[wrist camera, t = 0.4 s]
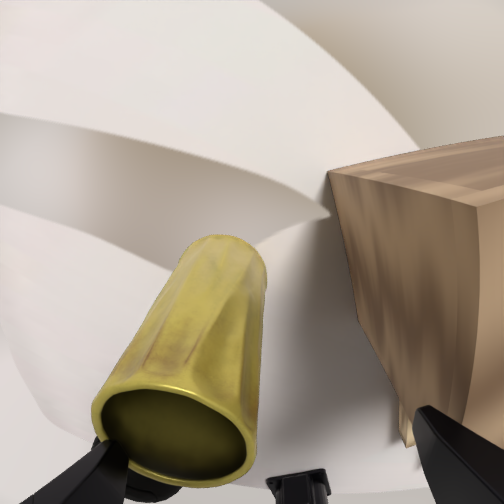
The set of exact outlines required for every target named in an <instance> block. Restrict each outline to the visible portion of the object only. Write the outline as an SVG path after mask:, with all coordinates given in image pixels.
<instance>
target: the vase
mask: <svg viewBox="0 0 504 504" xmlns="http://www.w3.org/2000/svg"><path fill="white" fill-rule="evenodd" d="M266 288H267V273H266V267H265V264H264V262H263V260H262V258H261V256H260V255H259V253H258V252H257V251H256V250H255V248H253V247H252V246H251V245H250V244H248V243H247V242H245V241H243V240H242V239H240V238H237V237H234V236H230V235H209V236H206V237H203V238H201V239H199V240H197V241H195V242H193V243H192V244H191V245H190V246H189V247H188V248H187V249H186V250H185V252H184V253H183V255H182V256H181V258H180V259H179V263H178V266H177V268H176V269H175V270H174V271H173V273H172V274H171V276H170V278H169V279H168V281H167V283H166V284H165V286H164V287H163V289H162V291H161V292H160V294H159V295H158V297H157V298H156V300H155V302H154V304H153V305H152V307H151V309H150V310H149V312H148V314H147V316H146V318H145V320H144V321H143V323H142V325H141V326H140V328H139V330H138V332H137V333H136V335H135V337H134V338H133V340H132V341H131V343H130V344H129V346H128V347H127V349H126V350H125V352H124V353H123V355H122V356H121V358H120V359H119V361H118V362H117V364H116V366H115V367H114V369H113V371H112V372H111V374H110V376H109V377H108V379H107V381H106V382H105V384H104V385H103V387H102V388H101V390H100V391H99V392H98V394H97V396H96V397H95V399H94V400H93V402H92V406H91V418H92V423H93V426H94V429H95V432H96V434H97V436H98V438H99V440H100V441H101V442H103V441H104V440H106V439H111V440H117V441H118V442H119V443H120V444H121V446H122V447H123V449H124V450H125V452H126V453H127V455H128V457H129V466H128V467H129V468H130V469H132V470H134V471H135V472H137V473H139V474H142V475H144V476H146V477H149V478H151V479H154V480H157V481H159V482H162V483H166V484H170V485H176V486H183V487H190V488H210V487H217V486H221V485H225V484H228V483H230V482H232V481H234V480H236V479H238V478H240V477H242V476H243V475H244V474H246V473H247V472H248V471H249V470H250V468H251V467H252V465H253V463H254V460H255V458H256V454H257V417H258V405H259V385H260V367H261V348H262V332H263V312H264V301H265V291H266Z"/></svg>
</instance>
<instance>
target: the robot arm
mask: <svg viewBox="0 0 504 504" xmlns="http://www.w3.org/2000/svg"><path fill="white" fill-rule="evenodd" d="M412 432H413V436H414V439H415V442H416V446H417V450H418V453H419V457H420V460H421V464H422V468H423V471H424V474H425V477H426V479H427V482H428V484H429V487H430V489H431V492H432V494H433V497H434V499H435V502H436V504H504V449H502V448H500V447H498V446H497V445H495V444H493V443H492V442H490V441H488V440H487V439H485V438H483V437H482V436H480V435H478V434H477V433H475V432H473V431H472V430H470V429H468V428H467V427H465V426H463V425H462V424H460V423H458V422H457V421H455V420H454V419H452V418H450V417H449V416H447V415H445V414H444V413H442V412H441V411H439V410H437V409H436V408H434V407H433V406H431V405H425V406H422V407H419V408H417V409H416V411H415V415H414V420H413V425H412ZM128 466H129V457H128V455H127V453H126V452H125V450H124V449H123V447H122V446H121V444H120V443H119V442H118V441H117V440H111V439H106V440H104V441H103V442H101V443H100V444H99V445H98V446H96V447H95V448H94V449H92V450H91V451H90V452H89V453H87V454H86V455H85V456H83V457H82V458H81V459H80V460H78V461H77V462H76V463H74V464H73V465H72V466H71V467H69V468H68V469H67V470H65V471H64V472H63V473H61V474H60V475H59V476H57V477H56V478H55V479H53V480H52V481H51V482H50V483H48V484H46V485H45V486H44V487H42V488H41V489H40V490H38V491H37V492H36V493H34V495H31V496H30V497H28V498H27V499H26V500H24V501H23V502H21V503H20V504H123V502H124V496H125V489H126V481H127V473H128ZM267 485H268V487H269V488H270V490H271V491H272V494H273V495H274V497H275V499H276V504H328V499H327V496H329V495H331V489H330V486H329V482H328V478H327V474H326V471H325V469H319V470H314V471H309V472H304V473H299V474H293V475H288V476H281V477H275V478H269V479H267Z"/></svg>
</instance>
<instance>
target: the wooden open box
mask: <svg viewBox="0 0 504 504" xmlns="http://www.w3.org/2000/svg"><path fill="white" fill-rule="evenodd" d="M327 172H328V176H329V180H330V184H331V188H332V192H333V196H334V200H335V204H336V208H337V213H338V217H339V221H340V226H341V231H342V235H343V240H344V245H345V250H346V254H347V259H348V265H349V270H350V275H351V281H352V286H353V292H354V298H355V304H356V310H357V316H358V321H359V323H360V325H361V327H362V329H363V330H364V332H365V334H366V336H367V338H368V340H369V342H370V343H371V345H372V347H373V349H374V351H375V353H376V355H377V357H378V358H379V360H380V362H381V364H382V366H383V368H384V370H385V372H386V374H387V376H388V378H389V380H390V382H391V384H392V386H393V388H394V390H395V392H396V394H397V396H398V398H399V400H400V402H401V404H402V406H403V408H404V410H405V412H406V414H407V416H408V418H409V420H410V422H411V424H412V425H413V420H414V415H415V411H416V409H417V408H419V407H422V406H425V405H431V406H433V407H434V408H436V409H437V410H439V411H441V412H442V413H444V414H445V415H447V416H449V417H450V418H452V419H454V420H455V421H457V422H458V423H460V424H462V425H463V426H465V427H467V428H468V429H470V430H472V431H473V432H475V433H477V434H478V435H480V436H482V437H483V438H485V439H487V440H488V441H490V442H492V443H493V444H495V445H497V446H498V447H500V448H502V449H504V136H498V137H492V138H485V139H479V140H473V141H467V142H461V143H456V144H450V145H445V146H439V147H434V148H429V149H424V150H419V151H414V152H409V153H404V154H399V155H395V156H390V157H385V158H381V159H376V160H372V161H367V162H363V163H359V164H355V165H350V166H346V167H342V168H338V169H334V170H330V171H327Z"/></svg>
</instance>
